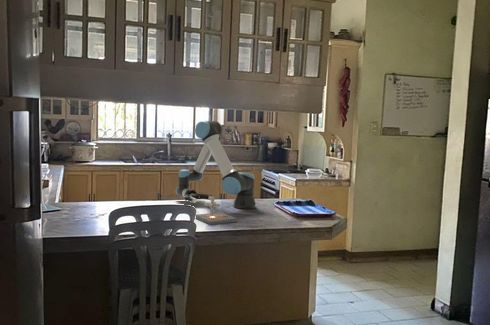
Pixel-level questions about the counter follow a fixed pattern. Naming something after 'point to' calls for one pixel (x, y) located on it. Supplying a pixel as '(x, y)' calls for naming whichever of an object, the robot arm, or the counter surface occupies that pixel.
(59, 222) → the counter surface
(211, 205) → the pipe connector
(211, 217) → the plate
